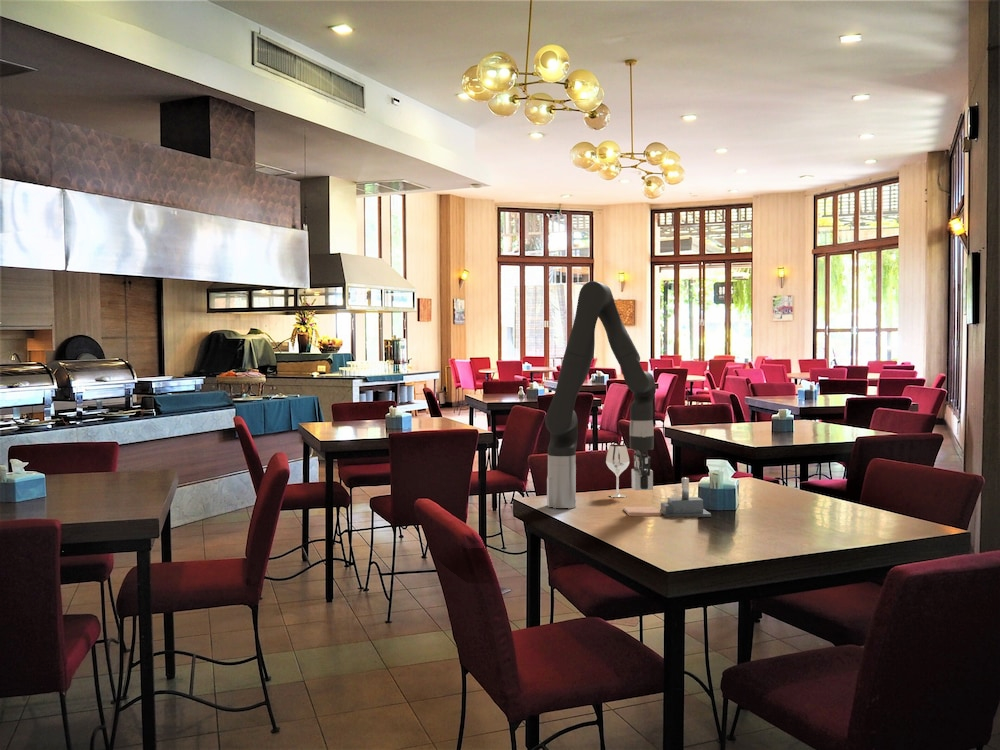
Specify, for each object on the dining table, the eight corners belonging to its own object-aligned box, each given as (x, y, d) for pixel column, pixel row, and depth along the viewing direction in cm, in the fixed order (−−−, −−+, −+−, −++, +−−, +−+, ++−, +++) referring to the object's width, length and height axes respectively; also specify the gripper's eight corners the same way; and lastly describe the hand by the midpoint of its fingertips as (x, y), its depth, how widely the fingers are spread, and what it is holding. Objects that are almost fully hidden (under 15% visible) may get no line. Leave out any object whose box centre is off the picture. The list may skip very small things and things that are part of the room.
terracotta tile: (628, 516, 265) (629, 512, 265) (622, 509, 275) (622, 506, 275) (660, 515, 266) (660, 512, 266) (653, 509, 276) (653, 506, 276)
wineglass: (630, 498, 296) (630, 446, 295) (607, 498, 296) (607, 446, 296) (627, 494, 304) (627, 444, 304) (604, 494, 304) (604, 444, 304)
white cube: (635, 490, 267) (635, 471, 267) (631, 487, 273) (631, 468, 273) (653, 489, 267) (652, 470, 267) (649, 487, 273) (648, 468, 273)
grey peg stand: (666, 517, 263) (666, 480, 262) (660, 512, 271) (660, 476, 270) (711, 516, 263) (711, 479, 263) (703, 511, 271) (703, 476, 271)
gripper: (625, 432, 277) (625, 484, 277) (634, 436, 262) (635, 491, 263) (648, 431, 277) (648, 483, 277) (658, 436, 263) (659, 490, 263)
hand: (642, 487), depth 270 cm, fingers closed on white cube, 5 cm apart
